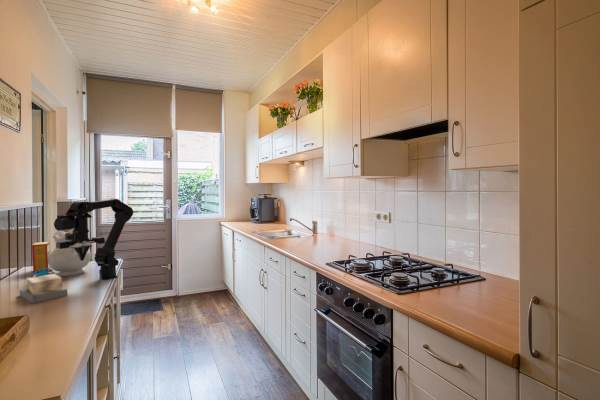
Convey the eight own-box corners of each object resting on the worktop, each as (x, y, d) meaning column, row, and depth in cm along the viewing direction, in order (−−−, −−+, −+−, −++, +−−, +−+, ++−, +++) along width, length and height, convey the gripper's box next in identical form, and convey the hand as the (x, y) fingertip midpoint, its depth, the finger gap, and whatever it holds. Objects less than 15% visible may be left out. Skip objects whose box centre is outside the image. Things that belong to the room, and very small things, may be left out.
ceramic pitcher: (99, 274, 178) (101, 229, 179) (58, 280, 162) (60, 230, 162) (80, 269, 190) (82, 227, 190) (40, 275, 173) (42, 228, 174)
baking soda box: (36, 269, 187) (35, 242, 186) (50, 267, 190) (49, 240, 190) (33, 273, 179) (31, 244, 178) (48, 271, 182) (46, 243, 182)
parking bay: (53, 288, 151) (53, 282, 151) (67, 295, 140) (67, 289, 140) (19, 295, 141) (19, 289, 141) (31, 303, 130) (31, 297, 130)
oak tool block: (55, 289, 149) (54, 273, 149) (62, 294, 142) (61, 277, 142) (27, 295, 141) (26, 278, 141) (33, 301, 134) (32, 283, 134)
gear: (24, 285, 151) (34, 266, 158) (28, 291, 155) (38, 272, 162) (51, 286, 153) (60, 267, 160) (55, 292, 158) (63, 274, 164)
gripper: (95, 224, 166) (96, 255, 166) (51, 228, 151) (52, 262, 151) (104, 226, 159) (105, 257, 160) (59, 230, 144) (61, 265, 145)
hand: (82, 260), depth 154 cm, fingers closed
